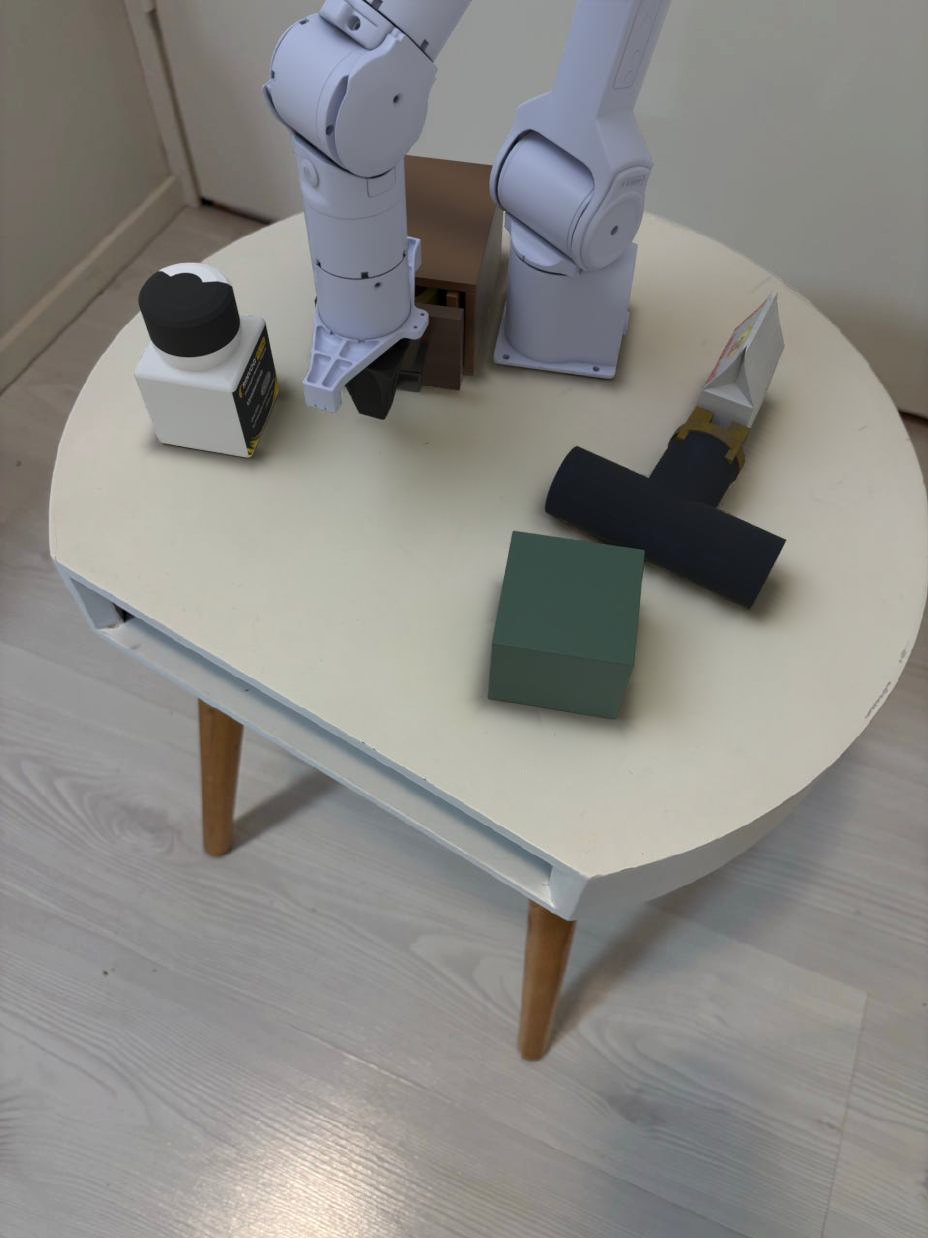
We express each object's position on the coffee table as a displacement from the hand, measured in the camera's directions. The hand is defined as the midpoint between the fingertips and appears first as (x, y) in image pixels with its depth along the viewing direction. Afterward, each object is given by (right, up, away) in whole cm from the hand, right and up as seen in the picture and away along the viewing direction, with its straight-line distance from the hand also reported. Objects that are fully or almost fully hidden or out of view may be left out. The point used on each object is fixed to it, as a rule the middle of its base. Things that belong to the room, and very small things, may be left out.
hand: (374, 410), depth 68 cm
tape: (+2, +9, +7) cm, 11 cm away
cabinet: (+3, +11, +10) cm, 15 cm away
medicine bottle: (-12, 0, +4) cm, 13 cm away
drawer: (+2, +7, +7) cm, 10 cm away
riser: (+12, -17, -6) cm, 22 cm away
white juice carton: (+26, 0, +4) cm, 26 cm away
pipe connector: (+21, -7, 0) cm, 22 cm away
